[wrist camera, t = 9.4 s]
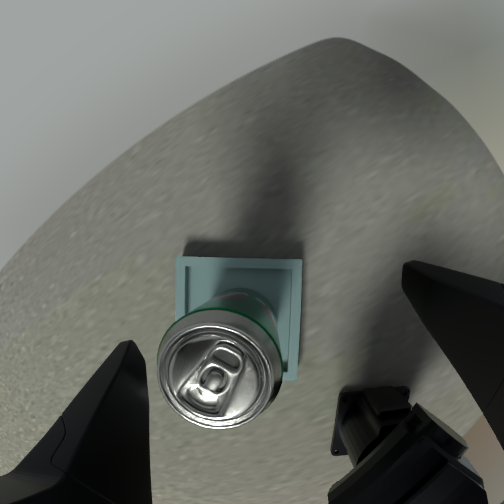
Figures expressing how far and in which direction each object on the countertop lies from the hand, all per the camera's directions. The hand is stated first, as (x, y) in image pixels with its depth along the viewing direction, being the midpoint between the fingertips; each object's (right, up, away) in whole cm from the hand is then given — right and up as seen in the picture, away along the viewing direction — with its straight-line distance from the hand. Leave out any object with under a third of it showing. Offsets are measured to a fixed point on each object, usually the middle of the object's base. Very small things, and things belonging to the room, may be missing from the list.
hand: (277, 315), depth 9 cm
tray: (-2, -3, +14) cm, 14 cm away
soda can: (-2, -3, +13) cm, 14 cm away
